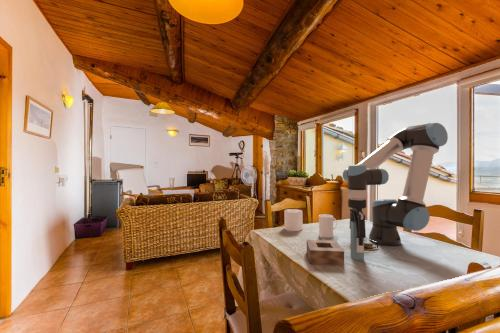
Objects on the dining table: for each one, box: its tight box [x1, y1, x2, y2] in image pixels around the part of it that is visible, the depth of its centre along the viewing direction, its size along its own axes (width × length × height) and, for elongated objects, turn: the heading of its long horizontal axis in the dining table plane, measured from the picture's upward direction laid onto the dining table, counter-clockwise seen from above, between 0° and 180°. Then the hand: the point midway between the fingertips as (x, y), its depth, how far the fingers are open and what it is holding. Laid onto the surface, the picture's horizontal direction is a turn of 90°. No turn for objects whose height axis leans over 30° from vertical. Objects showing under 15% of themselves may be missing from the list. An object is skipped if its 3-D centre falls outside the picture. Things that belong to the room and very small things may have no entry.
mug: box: [318, 213, 337, 239], centre depth 141 cm, size 12×8×12 cm
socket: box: [306, 239, 345, 266], centre depth 108 cm, size 14×14×6 cm
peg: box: [349, 221, 365, 261], centre depth 108 cm, size 4×4×16 cm
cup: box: [283, 208, 304, 232], centre depth 156 cm, size 12×12×12 cm
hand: (357, 248), depth 108 cm, fingers open, 7 cm apart
